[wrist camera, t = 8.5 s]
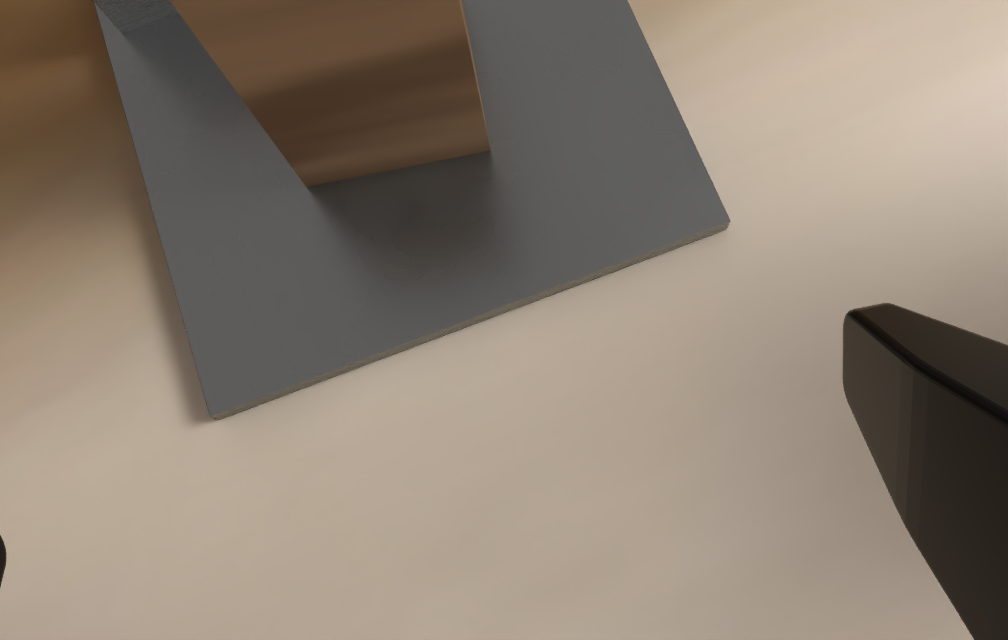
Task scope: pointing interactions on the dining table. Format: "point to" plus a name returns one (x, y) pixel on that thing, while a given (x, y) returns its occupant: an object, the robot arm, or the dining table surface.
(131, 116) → the keeper
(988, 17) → the dining table surface
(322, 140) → the link block
